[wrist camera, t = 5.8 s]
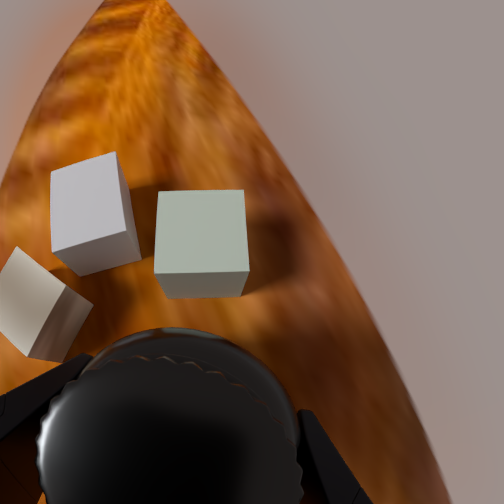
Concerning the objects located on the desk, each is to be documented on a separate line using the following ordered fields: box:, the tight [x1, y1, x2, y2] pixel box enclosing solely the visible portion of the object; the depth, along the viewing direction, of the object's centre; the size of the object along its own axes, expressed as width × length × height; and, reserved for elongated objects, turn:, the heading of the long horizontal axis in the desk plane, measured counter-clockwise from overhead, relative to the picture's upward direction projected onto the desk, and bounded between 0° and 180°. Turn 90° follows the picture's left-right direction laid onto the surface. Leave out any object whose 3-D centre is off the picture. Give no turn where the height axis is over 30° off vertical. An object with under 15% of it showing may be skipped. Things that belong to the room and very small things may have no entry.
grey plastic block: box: [50, 151, 142, 277], centre depth 16 cm, size 5×4×4 cm
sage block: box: [154, 190, 250, 299], centre depth 16 cm, size 4×4×4 cm
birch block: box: [0, 247, 94, 363], centre depth 14 cm, size 4×4×4 cm
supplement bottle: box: [34, 327, 304, 504], centre depth 9 cm, size 7×7×12 cm
